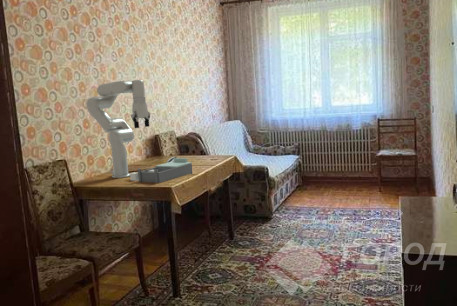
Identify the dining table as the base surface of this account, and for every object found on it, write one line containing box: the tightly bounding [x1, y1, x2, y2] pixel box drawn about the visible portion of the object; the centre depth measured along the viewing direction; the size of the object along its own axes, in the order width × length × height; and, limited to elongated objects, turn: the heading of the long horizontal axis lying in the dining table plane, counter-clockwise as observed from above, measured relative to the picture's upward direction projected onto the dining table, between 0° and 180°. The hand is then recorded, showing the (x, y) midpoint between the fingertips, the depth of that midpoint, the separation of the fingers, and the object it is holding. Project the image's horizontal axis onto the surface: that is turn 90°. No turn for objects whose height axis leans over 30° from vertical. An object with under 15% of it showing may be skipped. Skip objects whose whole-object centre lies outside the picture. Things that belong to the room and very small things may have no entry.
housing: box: [137, 163, 193, 184], centre depth 273 cm, size 16×34×9 cm, turn 149°
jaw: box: [129, 171, 139, 182], centre depth 270 cm, size 5×4×6 cm
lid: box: [155, 157, 192, 168], centre depth 280 cm, size 16×16×3 cm
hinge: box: [166, 156, 178, 163], centre depth 307 cm, size 17×5×10 cm, turn 160°
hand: (142, 127), depth 274 cm, fingers open, 9 cm apart
